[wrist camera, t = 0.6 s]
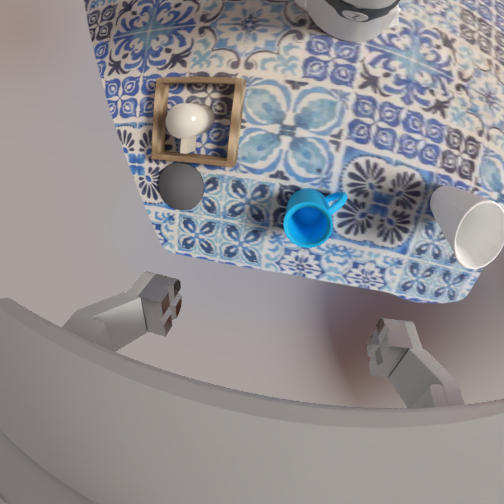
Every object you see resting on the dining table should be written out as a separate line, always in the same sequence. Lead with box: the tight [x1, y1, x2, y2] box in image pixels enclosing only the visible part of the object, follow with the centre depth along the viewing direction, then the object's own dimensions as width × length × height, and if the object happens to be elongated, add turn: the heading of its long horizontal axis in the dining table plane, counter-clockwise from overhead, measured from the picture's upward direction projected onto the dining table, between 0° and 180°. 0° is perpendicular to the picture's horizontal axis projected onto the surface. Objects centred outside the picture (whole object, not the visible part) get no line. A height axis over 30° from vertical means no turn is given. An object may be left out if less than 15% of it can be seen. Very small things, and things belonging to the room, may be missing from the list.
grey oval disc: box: [159, 162, 204, 210], centre depth 54 cm, size 10×10×1 cm
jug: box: [166, 103, 215, 154], centre depth 44 cm, size 9×6×8 cm
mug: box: [283, 188, 347, 248], centre depth 47 cm, size 12×8×8 cm
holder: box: [152, 77, 246, 168], centre depth 45 cm, size 16×16×4 cm
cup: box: [430, 186, 504, 269], centre depth 38 cm, size 12×12×16 cm
